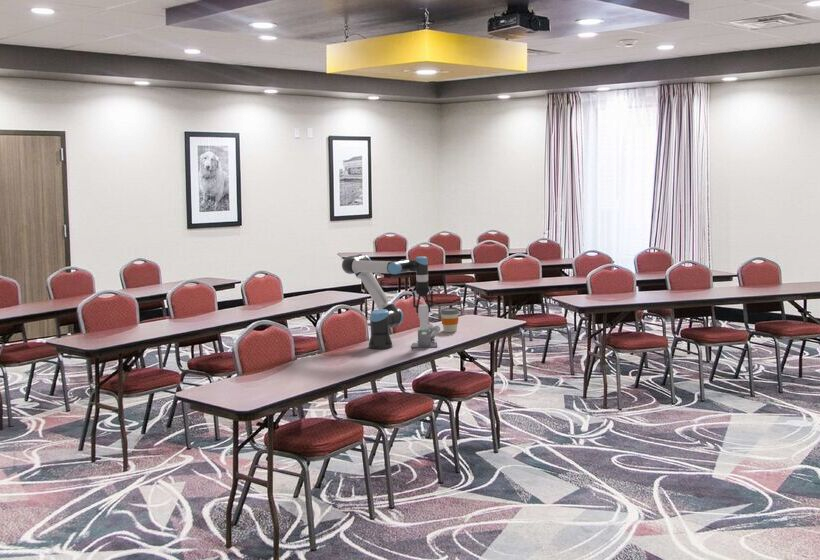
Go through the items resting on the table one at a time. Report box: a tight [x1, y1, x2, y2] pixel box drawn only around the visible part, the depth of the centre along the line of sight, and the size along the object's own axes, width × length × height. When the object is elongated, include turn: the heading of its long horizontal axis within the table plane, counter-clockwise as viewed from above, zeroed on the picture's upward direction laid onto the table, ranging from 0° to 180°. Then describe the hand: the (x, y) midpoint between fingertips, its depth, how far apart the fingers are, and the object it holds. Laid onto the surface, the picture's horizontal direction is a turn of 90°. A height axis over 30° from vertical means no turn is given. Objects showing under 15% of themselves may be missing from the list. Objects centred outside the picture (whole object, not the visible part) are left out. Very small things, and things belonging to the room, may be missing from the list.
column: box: [418, 304, 429, 332], centre depth 548 cm, size 5×5×18 cm
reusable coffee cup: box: [440, 307, 460, 333], centre depth 600 cm, size 13×13×15 cm
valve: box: [428, 323, 441, 340], centre depth 566 cm, size 10×18×15 cm
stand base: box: [411, 329, 438, 349], centre depth 550 cm, size 16×12×10 cm
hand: (423, 317), depth 548 cm, fingers closed on column, 5 cm apart
